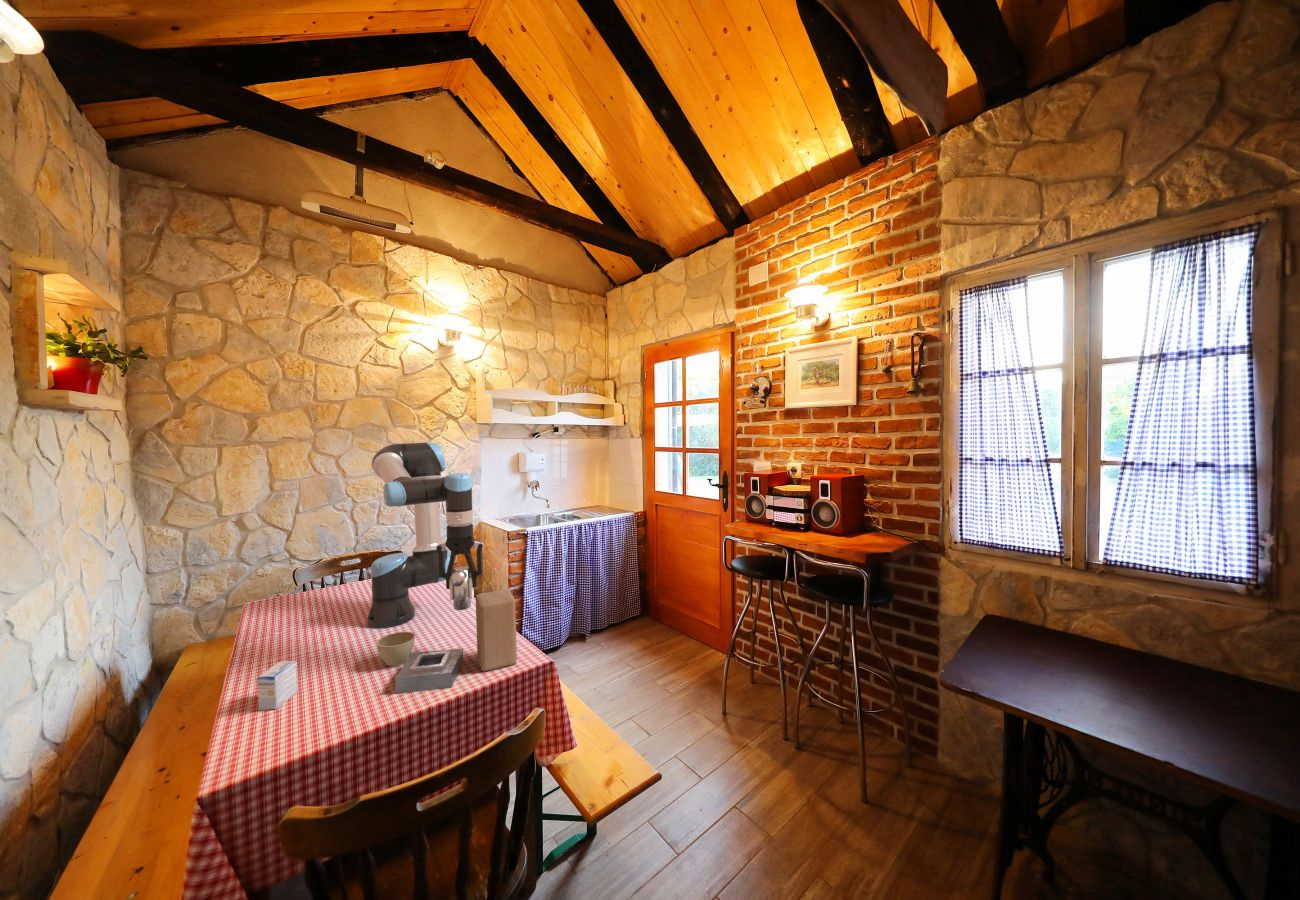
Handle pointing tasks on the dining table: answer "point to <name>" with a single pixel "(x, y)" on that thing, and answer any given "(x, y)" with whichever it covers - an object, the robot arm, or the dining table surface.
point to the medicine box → (277, 685)
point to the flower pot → (396, 647)
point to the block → (496, 629)
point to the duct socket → (429, 670)
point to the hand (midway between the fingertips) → (462, 598)
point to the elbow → (461, 588)
